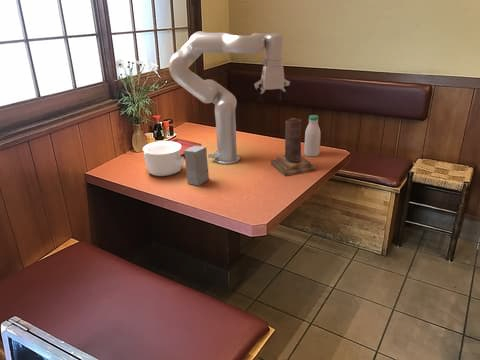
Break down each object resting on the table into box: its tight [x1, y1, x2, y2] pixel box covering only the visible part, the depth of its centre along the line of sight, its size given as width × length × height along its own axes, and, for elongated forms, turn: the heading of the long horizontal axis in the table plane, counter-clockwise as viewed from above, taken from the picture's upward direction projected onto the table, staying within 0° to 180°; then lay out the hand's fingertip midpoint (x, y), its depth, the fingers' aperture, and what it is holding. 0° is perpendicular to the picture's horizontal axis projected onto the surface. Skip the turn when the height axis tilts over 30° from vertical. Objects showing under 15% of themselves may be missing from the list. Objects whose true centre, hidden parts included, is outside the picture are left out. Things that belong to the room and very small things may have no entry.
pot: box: [142, 140, 185, 177], centre depth 194 cm, size 22×17×12 cm
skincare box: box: [184, 145, 210, 187], centre depth 182 cm, size 8×7×16 cm
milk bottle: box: [303, 114, 322, 157], centre depth 207 cm, size 8×8×20 cm
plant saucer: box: [171, 137, 203, 158], centre depth 220 cm, size 18×18×3 cm
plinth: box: [270, 155, 317, 177], centre depth 196 cm, size 16×16×4 cm
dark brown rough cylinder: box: [284, 117, 302, 161], centre depth 191 cm, size 8×7×20 cm
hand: (271, 100), depth 193 cm, fingers open, 9 cm apart
